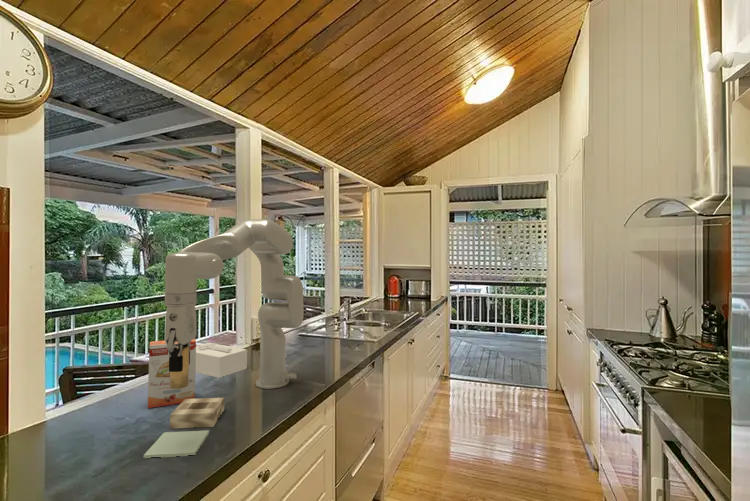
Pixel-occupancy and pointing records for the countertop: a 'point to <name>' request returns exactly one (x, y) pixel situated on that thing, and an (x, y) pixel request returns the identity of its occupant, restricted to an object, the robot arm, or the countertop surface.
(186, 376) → the brass plug
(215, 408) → the bored block
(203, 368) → the tissue box
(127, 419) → the countertop surface
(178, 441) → the green mat
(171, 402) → the cracker box
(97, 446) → the countertop surface
